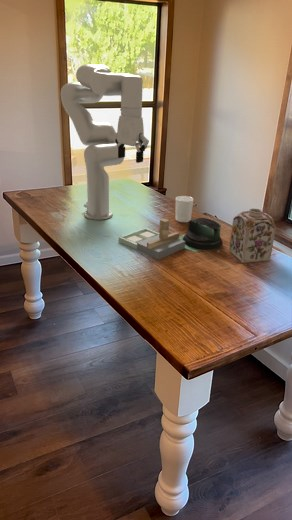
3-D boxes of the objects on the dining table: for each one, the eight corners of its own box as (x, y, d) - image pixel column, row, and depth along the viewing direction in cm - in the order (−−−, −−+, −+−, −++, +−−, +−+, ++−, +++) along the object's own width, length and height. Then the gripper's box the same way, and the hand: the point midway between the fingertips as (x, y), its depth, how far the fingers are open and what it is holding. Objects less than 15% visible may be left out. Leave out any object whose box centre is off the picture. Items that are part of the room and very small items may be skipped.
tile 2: (147, 237, 167) (147, 241, 167) (155, 234, 170) (155, 238, 170) (139, 234, 169) (139, 237, 170) (147, 231, 172) (147, 234, 173)
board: (136, 250, 160) (136, 242, 159) (163, 239, 170) (163, 232, 169) (158, 259, 153) (158, 252, 152) (184, 248, 163) (185, 241, 162)
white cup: (191, 217, 195) (193, 196, 190) (191, 223, 188) (193, 201, 183) (174, 216, 195) (175, 195, 191) (173, 222, 188) (175, 200, 184)
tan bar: (145, 247, 155) (146, 224, 151) (175, 236, 166) (176, 214, 162) (150, 249, 154) (151, 226, 150) (179, 238, 164) (181, 216, 160)
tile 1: (134, 241, 162) (134, 245, 163) (142, 238, 165) (142, 242, 166) (126, 238, 165) (126, 242, 166) (134, 235, 168) (134, 239, 168)
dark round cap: (236, 242, 171) (239, 221, 167) (210, 258, 157) (212, 234, 153) (195, 229, 182) (197, 209, 178) (167, 243, 168) (168, 220, 164)
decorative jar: (241, 263, 153) (248, 216, 145) (227, 250, 163) (233, 205, 155) (271, 261, 156) (279, 214, 148) (255, 248, 166) (262, 204, 158)
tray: (118, 242, 166) (118, 237, 165) (145, 232, 176) (145, 227, 175) (136, 250, 160) (136, 244, 159) (163, 239, 170) (163, 234, 169)
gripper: (107, 110, 156) (107, 157, 164) (141, 115, 146) (139, 165, 153) (122, 109, 161) (121, 154, 169) (155, 114, 151) (153, 162, 158)
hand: (130, 159), depth 161 cm, fingers open, 9 cm apart
